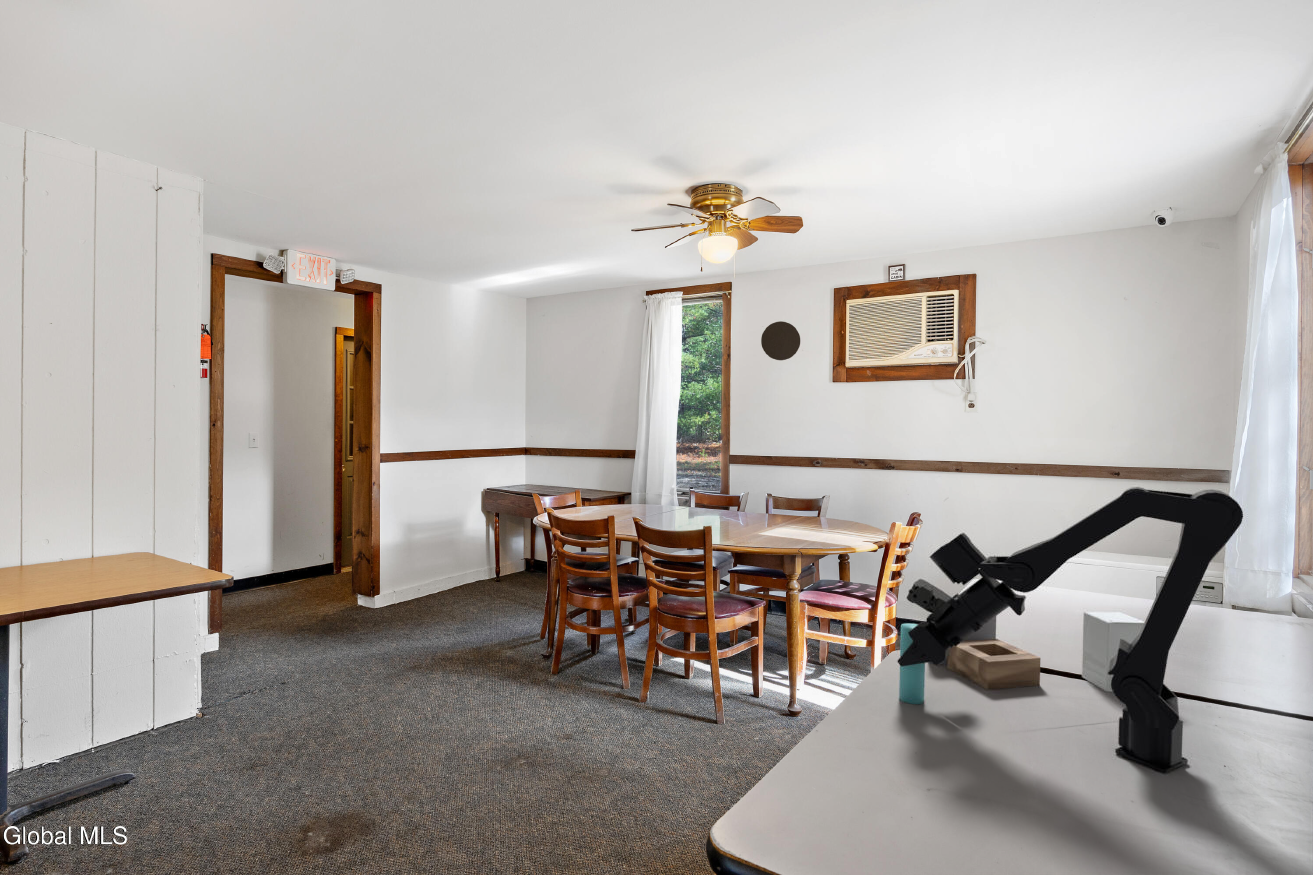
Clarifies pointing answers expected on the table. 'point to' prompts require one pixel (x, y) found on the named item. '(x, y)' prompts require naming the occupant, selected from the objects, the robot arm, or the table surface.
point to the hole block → (994, 664)
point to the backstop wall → (980, 634)
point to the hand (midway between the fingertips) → (904, 659)
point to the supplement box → (1105, 643)
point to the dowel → (910, 672)
